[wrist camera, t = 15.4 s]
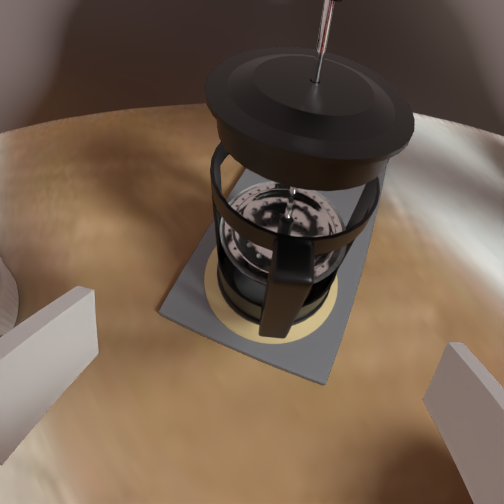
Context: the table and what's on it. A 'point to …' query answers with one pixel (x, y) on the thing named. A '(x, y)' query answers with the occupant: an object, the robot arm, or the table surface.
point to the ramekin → (7, 299)
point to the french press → (297, 170)
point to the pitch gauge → (246, 333)
